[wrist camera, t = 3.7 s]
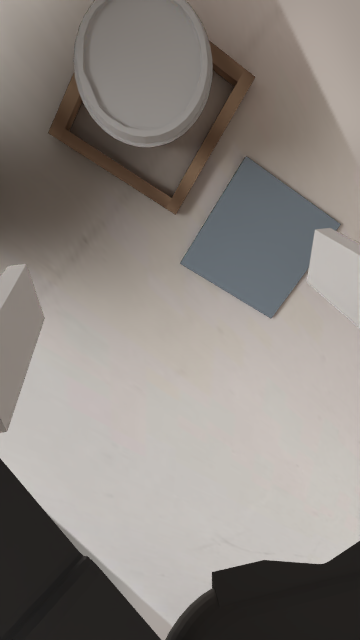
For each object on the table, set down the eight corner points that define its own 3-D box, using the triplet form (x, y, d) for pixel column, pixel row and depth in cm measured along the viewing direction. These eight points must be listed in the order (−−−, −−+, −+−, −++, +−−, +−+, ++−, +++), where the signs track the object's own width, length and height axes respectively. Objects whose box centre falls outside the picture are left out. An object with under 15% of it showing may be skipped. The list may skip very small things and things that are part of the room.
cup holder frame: (175, 214, 36) (175, 214, 35) (52, 135, 33) (48, 133, 32) (251, 82, 32) (255, 77, 31) (120, -20, 29) (118, -31, 28)
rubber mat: (269, 317, 41) (271, 318, 40) (180, 263, 38) (180, 263, 38) (338, 224, 37) (340, 224, 37) (245, 156, 35) (246, 156, 34)
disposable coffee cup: (104, 43, 31) (69, -46, 20) (205, 60, 32) (226, -17, 20) (100, 155, 34) (67, 134, 23) (191, 168, 35) (203, 153, 24)
